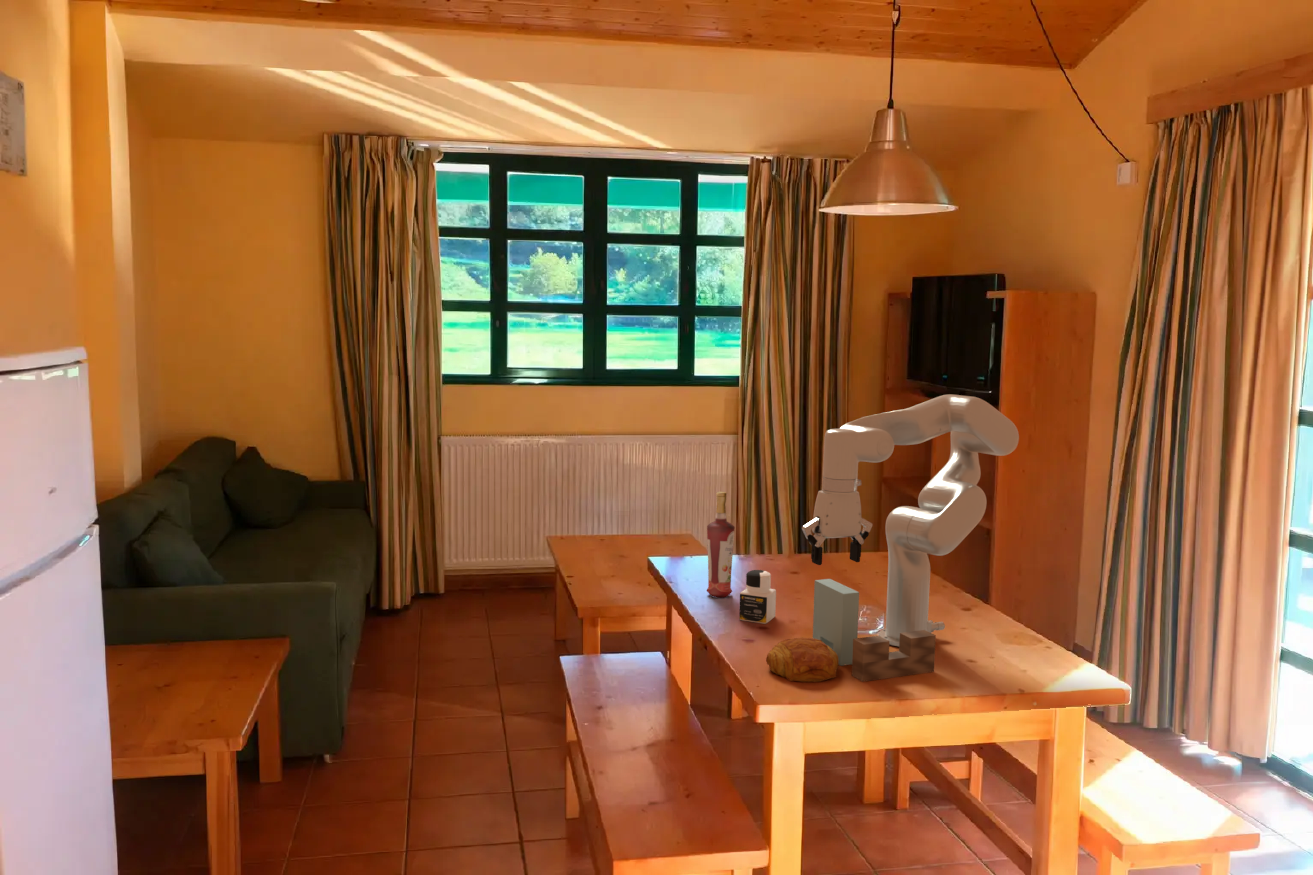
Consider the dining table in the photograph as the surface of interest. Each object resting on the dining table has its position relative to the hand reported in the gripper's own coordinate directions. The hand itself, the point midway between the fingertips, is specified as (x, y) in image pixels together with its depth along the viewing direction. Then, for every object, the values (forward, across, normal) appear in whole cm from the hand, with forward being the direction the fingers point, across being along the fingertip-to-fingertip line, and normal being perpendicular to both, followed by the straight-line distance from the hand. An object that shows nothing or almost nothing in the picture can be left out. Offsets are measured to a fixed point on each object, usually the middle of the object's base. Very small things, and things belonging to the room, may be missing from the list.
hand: (835, 562), depth 232 cm
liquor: (+22, +2, -53) cm, 57 cm away
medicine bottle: (+22, +2, -31) cm, 38 cm away
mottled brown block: (+21, -7, +14) cm, 26 cm away
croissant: (+22, +11, +6) cm, 25 cm away
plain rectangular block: (+21, -1, 0) cm, 21 cm away
